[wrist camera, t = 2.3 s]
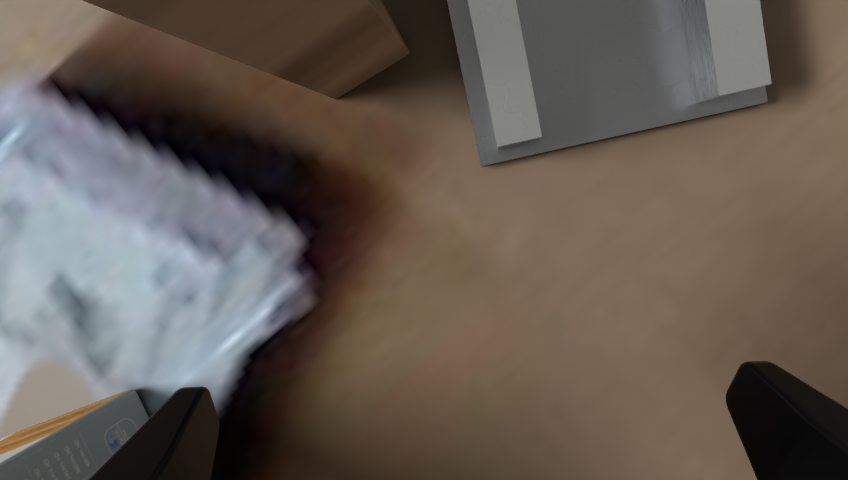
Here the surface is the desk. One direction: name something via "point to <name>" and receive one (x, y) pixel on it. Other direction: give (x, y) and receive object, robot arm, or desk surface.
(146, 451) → the robot arm
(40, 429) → the hard drive box
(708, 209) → the desk surface
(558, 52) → the open-ended gray metal tray
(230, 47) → the tan block
